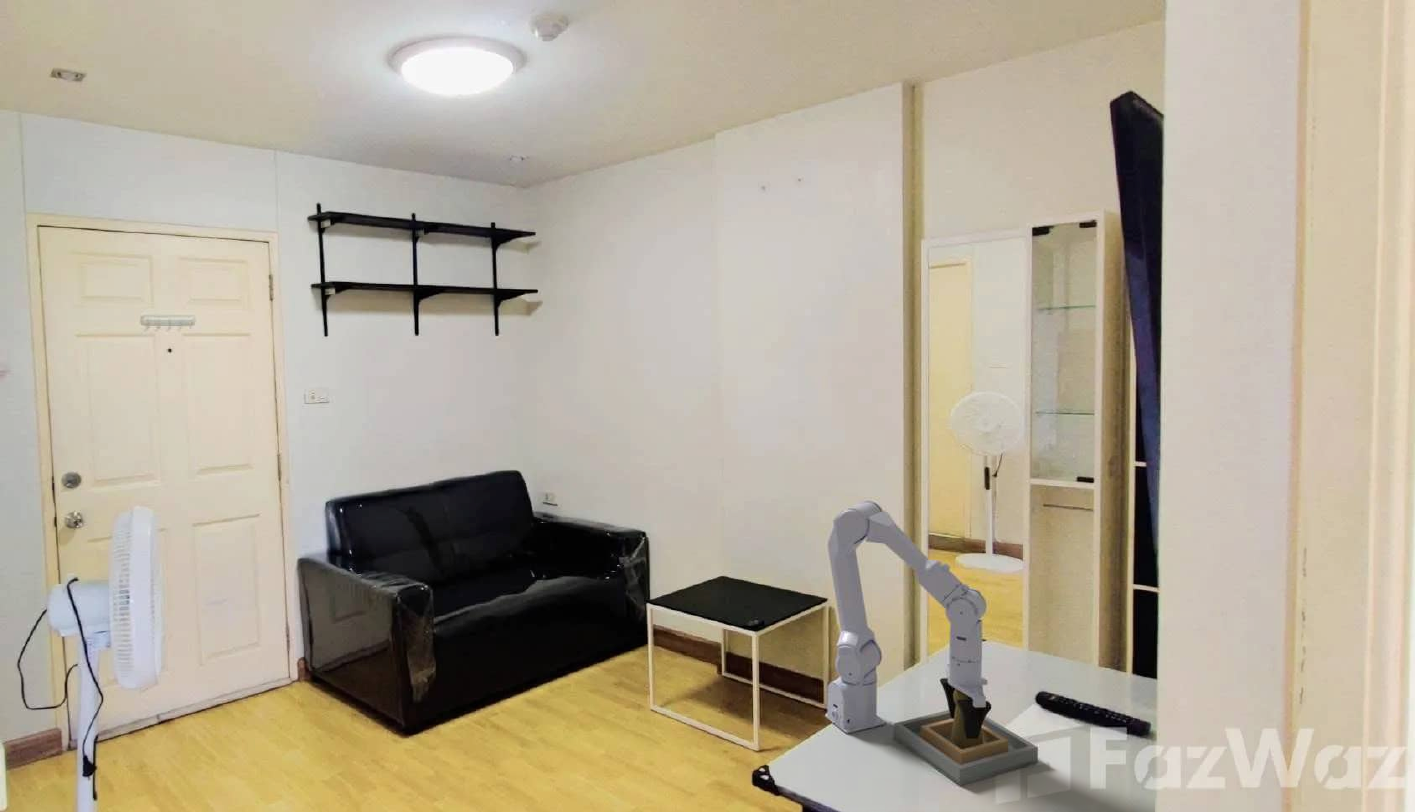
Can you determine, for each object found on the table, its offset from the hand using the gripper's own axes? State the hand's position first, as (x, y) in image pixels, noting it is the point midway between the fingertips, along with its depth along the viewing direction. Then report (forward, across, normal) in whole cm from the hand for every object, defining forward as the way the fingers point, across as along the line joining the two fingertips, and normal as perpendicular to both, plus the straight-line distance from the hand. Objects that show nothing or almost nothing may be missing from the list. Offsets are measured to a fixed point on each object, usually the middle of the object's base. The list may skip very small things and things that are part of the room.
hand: (963, 727), depth 145 cm
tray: (+4, 0, 0) cm, 4 cm away
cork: (+4, 0, -1) cm, 4 cm away
